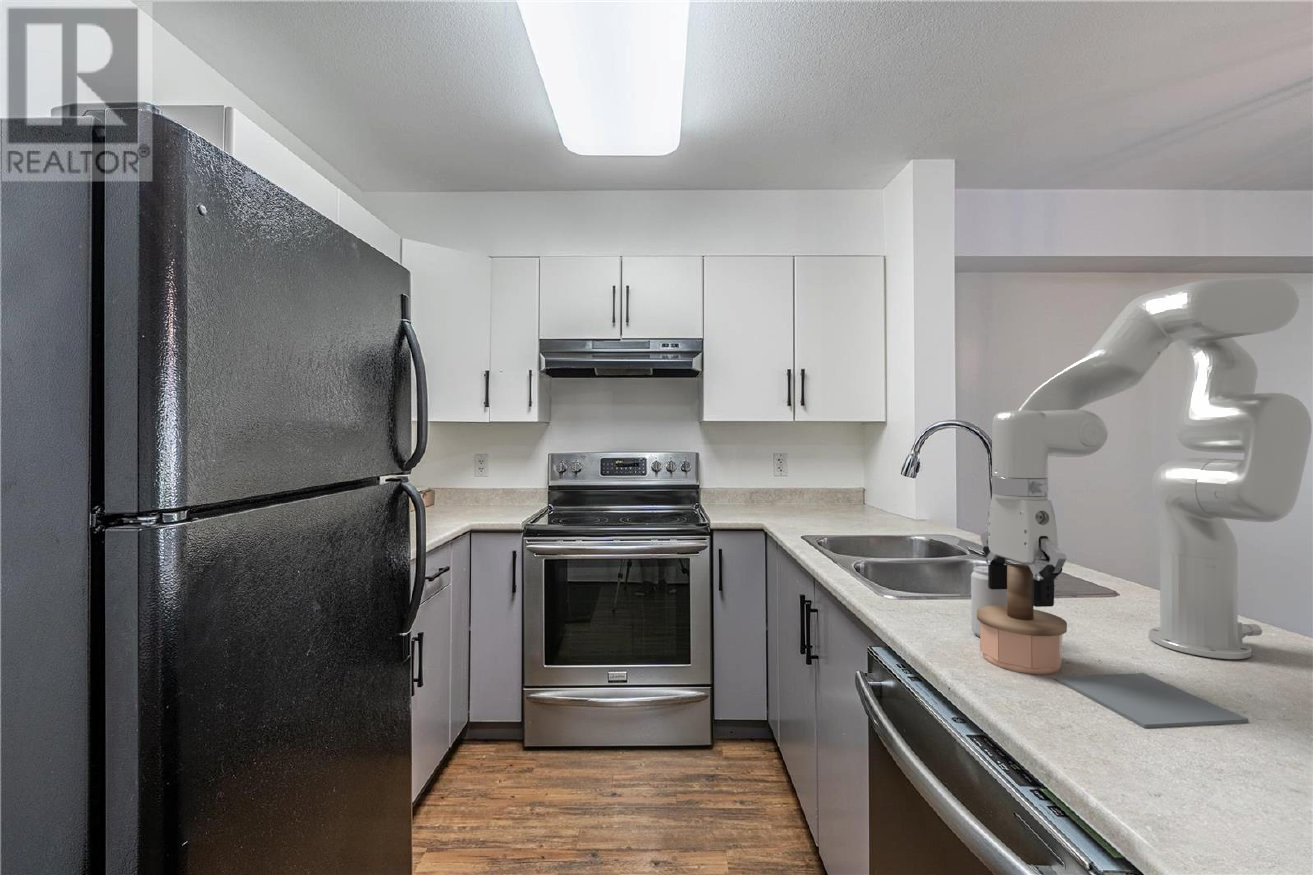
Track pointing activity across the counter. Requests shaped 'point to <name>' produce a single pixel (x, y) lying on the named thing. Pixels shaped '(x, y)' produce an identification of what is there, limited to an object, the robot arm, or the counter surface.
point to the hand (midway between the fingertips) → (1019, 597)
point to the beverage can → (983, 595)
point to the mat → (1149, 700)
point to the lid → (1021, 608)
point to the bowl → (1021, 651)
